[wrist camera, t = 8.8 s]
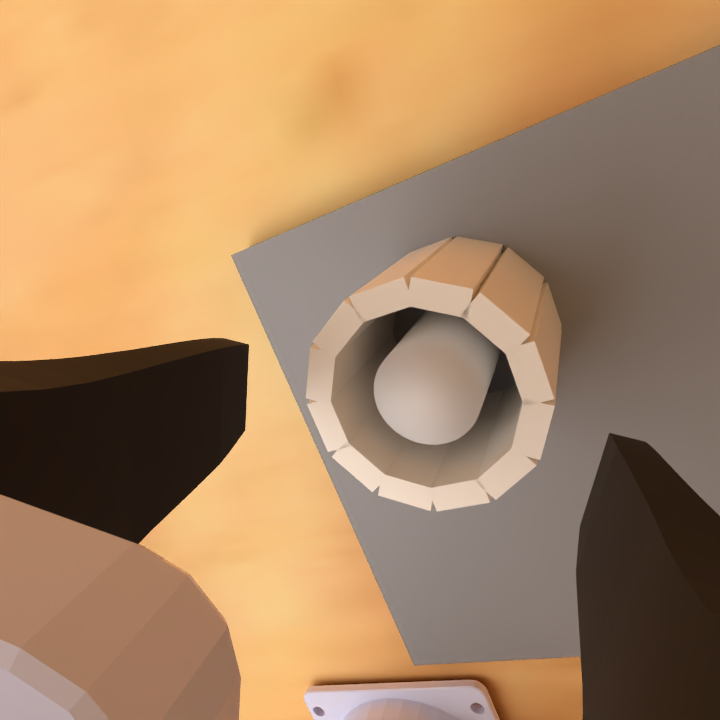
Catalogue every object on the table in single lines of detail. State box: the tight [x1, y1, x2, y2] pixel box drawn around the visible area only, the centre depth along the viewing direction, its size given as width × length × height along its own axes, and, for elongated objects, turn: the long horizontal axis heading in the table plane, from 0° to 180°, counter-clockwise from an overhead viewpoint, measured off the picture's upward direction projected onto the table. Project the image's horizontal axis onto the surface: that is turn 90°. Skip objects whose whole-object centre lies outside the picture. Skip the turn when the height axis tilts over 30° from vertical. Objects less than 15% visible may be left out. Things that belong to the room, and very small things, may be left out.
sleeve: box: [306, 236, 562, 512], centre depth 15 cm, size 5×5×5 cm
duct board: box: [231, 45, 720, 665], centre depth 15 cm, size 16×20×6 cm
